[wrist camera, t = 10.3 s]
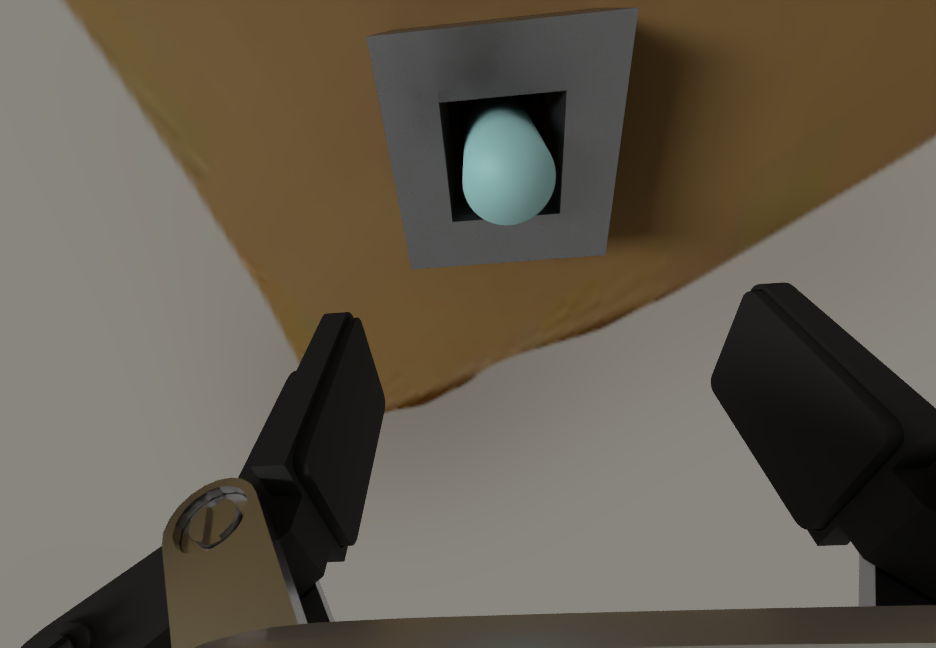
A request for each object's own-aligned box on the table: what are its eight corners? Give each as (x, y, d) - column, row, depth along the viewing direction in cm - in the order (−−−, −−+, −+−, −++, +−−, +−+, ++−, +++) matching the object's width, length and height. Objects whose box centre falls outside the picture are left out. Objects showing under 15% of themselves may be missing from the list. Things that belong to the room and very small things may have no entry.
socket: (390, 30, 24) (366, 36, 18) (598, 8, 23) (638, 7, 18) (422, 222, 31) (411, 269, 26) (580, 210, 30) (605, 255, 25)
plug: (461, 97, 26) (458, 135, 18) (530, 91, 26) (558, 127, 18) (467, 168, 29) (466, 228, 21) (530, 162, 28) (553, 221, 20)
